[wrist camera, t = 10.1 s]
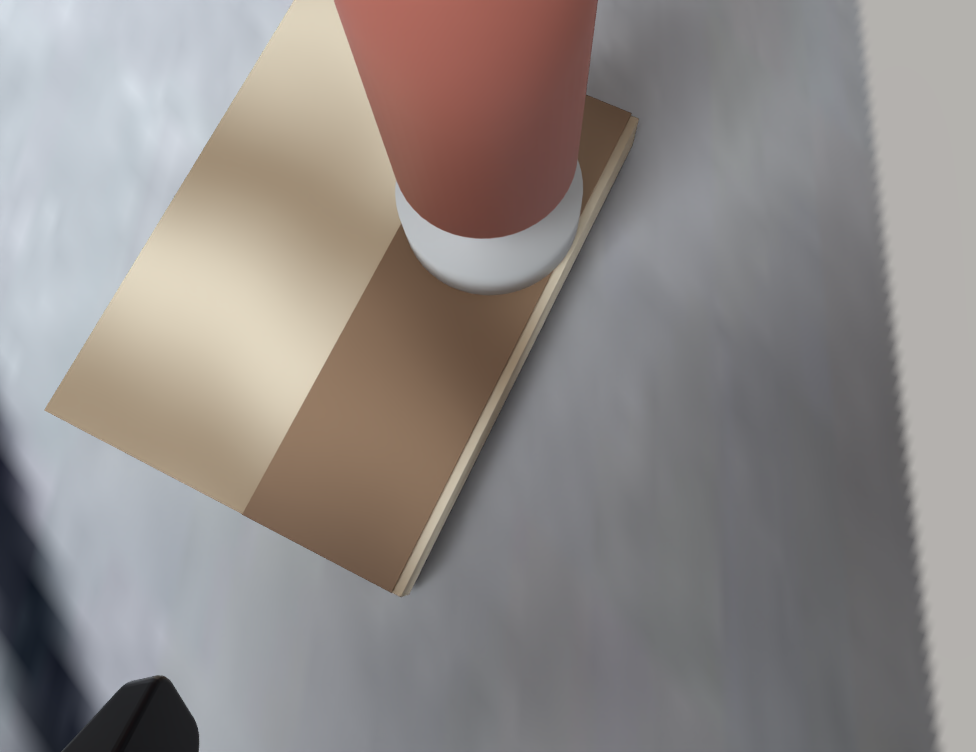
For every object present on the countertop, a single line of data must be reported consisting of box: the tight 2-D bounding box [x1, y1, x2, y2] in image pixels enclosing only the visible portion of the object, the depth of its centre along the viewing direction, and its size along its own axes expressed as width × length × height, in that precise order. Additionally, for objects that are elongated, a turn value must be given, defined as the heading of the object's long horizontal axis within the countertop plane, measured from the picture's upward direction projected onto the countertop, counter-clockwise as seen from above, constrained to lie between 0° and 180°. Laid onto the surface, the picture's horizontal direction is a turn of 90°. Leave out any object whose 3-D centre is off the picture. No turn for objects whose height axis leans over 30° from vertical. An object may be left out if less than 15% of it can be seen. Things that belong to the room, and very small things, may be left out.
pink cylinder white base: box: [334, 0, 598, 295], centre depth 12 cm, size 4×4×13 cm
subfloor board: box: [45, 0, 639, 597], centre depth 19 cm, size 12×9×1 cm
